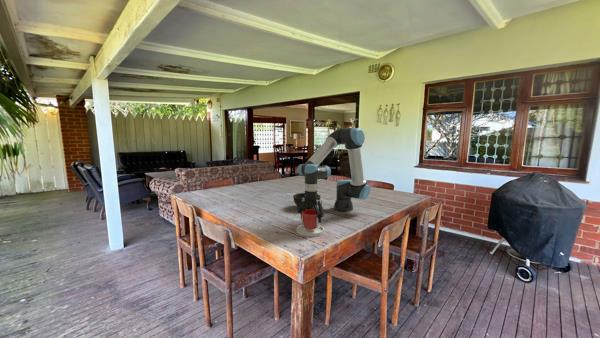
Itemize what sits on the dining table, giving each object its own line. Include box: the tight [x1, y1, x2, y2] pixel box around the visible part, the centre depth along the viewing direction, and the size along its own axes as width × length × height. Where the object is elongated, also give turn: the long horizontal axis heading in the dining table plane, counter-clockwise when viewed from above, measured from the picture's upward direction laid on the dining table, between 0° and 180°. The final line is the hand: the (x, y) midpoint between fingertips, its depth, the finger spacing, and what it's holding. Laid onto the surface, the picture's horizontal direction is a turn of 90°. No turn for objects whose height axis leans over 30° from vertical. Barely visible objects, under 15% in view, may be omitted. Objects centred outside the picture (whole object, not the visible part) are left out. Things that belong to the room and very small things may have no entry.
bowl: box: [292, 192, 322, 210], centre depth 208 cm, size 22×22×10 cm
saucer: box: [296, 224, 325, 238], centre depth 158 cm, size 17×17×2 cm
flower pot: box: [302, 208, 318, 230], centre depth 157 cm, size 11×11×10 cm
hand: (310, 226), depth 158 cm, fingers closed on flower pot, 10 cm apart
